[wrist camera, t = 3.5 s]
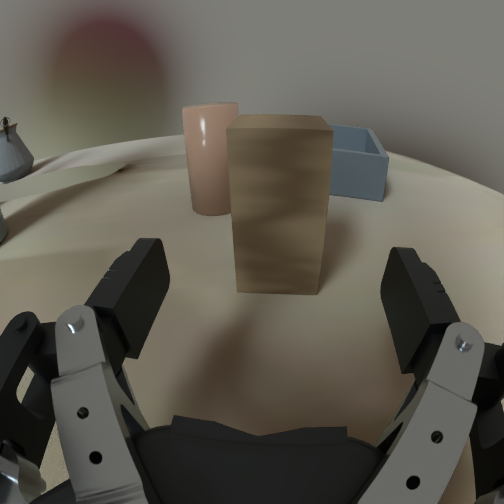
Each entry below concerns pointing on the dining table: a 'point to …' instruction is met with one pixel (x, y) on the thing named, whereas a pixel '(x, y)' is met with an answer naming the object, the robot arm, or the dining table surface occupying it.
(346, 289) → the dining table surface
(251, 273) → the walnut block
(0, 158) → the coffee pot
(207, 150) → the terracotta cylinder
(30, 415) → the robot arm
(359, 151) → the blue-gray tote
